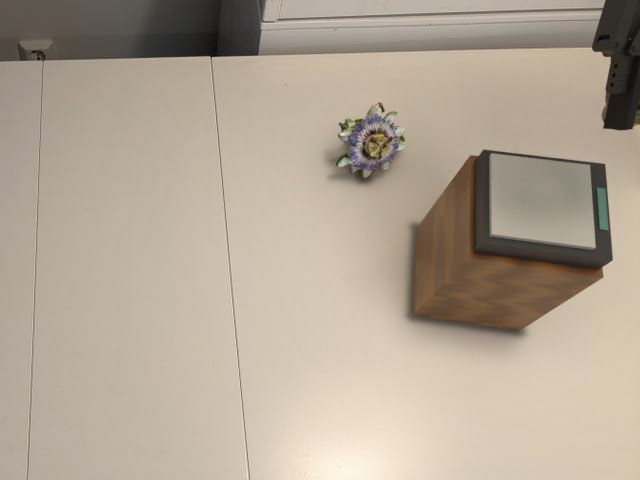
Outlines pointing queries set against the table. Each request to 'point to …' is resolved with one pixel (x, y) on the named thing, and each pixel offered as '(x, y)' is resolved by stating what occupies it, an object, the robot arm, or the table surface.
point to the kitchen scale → (541, 209)
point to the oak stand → (482, 270)
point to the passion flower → (371, 141)
